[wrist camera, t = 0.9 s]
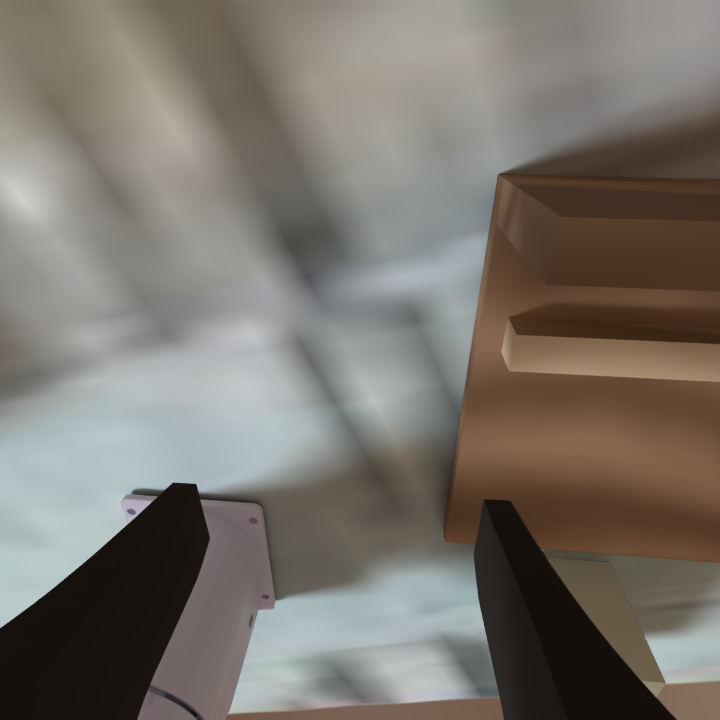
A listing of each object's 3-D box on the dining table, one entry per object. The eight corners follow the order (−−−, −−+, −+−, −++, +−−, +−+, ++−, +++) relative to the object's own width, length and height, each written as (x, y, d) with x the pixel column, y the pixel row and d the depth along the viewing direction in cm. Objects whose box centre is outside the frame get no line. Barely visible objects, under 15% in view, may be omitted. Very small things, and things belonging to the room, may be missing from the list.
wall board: (748, 548, 23) (871, 703, 17) (443, 526, 24) (457, 665, 18) (997, 186, 14) (1435, 242, 8) (498, 174, 15) (561, 216, 9)
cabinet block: (573, 640, 29) (614, 765, 23) (495, 634, 29) (518, 755, 24) (610, 562, 25) (669, 690, 19) (519, 555, 25) (552, 679, 20)
